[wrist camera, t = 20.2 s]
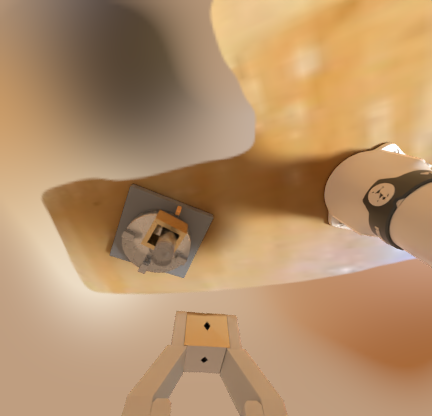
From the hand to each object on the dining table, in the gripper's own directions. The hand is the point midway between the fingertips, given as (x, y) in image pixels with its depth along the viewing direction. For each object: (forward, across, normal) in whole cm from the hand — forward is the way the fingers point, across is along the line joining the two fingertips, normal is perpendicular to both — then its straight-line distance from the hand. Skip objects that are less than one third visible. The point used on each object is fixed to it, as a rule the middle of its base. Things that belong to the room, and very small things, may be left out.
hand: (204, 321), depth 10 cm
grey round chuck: (+29, +7, +14) cm, 33 cm away
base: (+31, +7, +14) cm, 35 cm away
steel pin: (+26, +5, +10) cm, 29 cm away
